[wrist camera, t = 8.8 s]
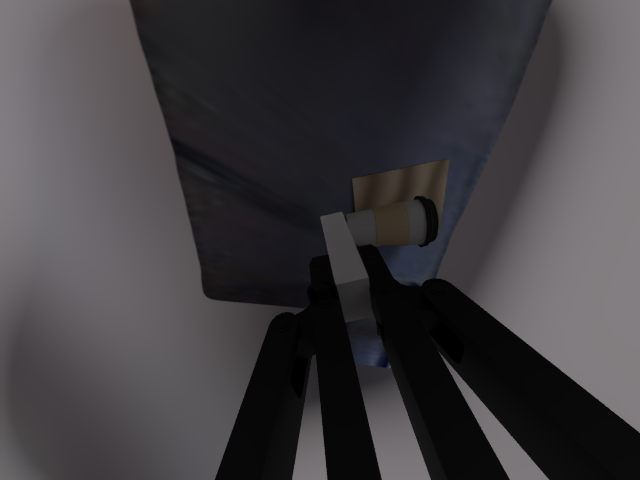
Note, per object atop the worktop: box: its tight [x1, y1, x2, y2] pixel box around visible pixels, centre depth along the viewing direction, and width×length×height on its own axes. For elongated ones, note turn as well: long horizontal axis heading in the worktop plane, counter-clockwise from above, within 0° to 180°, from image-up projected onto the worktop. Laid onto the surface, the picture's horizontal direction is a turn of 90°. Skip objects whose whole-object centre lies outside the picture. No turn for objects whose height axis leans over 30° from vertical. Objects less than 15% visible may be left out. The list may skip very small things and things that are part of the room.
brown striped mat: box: [352, 159, 449, 247], centre depth 46 cm, size 18×16×1 cm
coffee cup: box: [346, 196, 439, 247], centre depth 43 cm, size 9×9×15 cm
